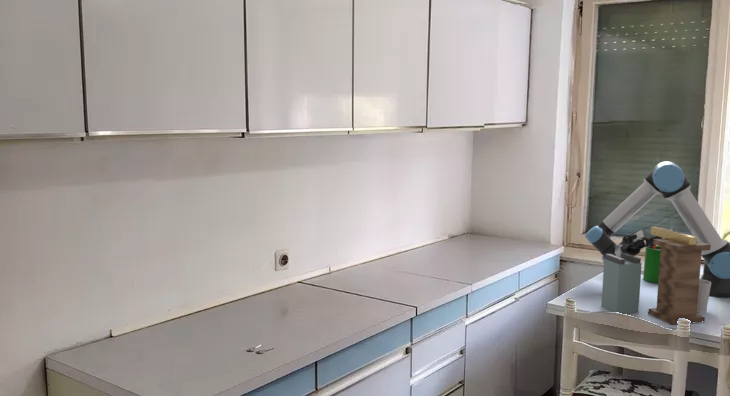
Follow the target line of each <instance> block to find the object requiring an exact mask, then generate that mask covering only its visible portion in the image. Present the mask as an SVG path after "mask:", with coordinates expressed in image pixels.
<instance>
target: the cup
mask: <svg viewBox="0 0 730 396" xmlns="http://www.w3.org/2000/svg"><path fill="white" fill-rule="evenodd" d="M710 287H711V282H710V281H707V280H703V279H701V278H700V279H699V292H698V305H697V312H700V313H699V314H706V313H707V311H708V306H709V305H708V304H709V298H710V295H709V293H710ZM705 312H706V313H705Z"/></svg>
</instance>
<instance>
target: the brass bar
mask: <svg viewBox="0 0 730 396" xmlns="http://www.w3.org/2000/svg"><path fill="white" fill-rule="evenodd" d="M672 230H673V229H672ZM672 230H669V229H667V228H665V227H659V226H651V227H650V235H652V236H654V237H656V236H659V237H662V238H666V239H669V240H672V241H676V242H679V243H683V244H686V245H696V240H697V237H695V236H693V235H692V234H691V235H690V234H687V233H683V232H679V231H676V230H673V231H672Z"/></svg>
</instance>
